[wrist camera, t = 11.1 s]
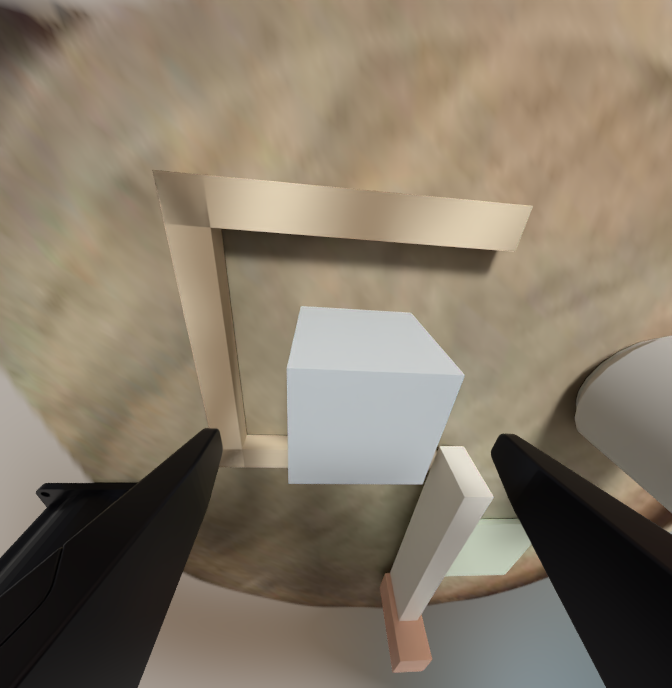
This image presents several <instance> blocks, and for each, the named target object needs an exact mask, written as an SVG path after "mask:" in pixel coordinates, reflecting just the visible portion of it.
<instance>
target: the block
mask: <svg viewBox="0 0 672 688" xmlns="http://www.w3.org/2000/svg"><path fill="white" fill-rule="evenodd" d="M464 376H465V375H464V374H463V373H462V371H461V370H460V369H459V368H458V367H457V366H456V364H455V363H454V362H453V361H452V360H451V359H450V357H449V356H448V355H447V354H446V353H445V352H444V350H443V349H442V348H441V347H440V346H439V345H438V344H437V342H436V341H435V340H434V339H433V338H432V337H431V335H430V334H429V333H428V332H427V331H426V330H425V328H424V327H423V326H422V325H421V324H420V323H419V321H418V320H417V319H416V318H415V317H414V316H413V314H412V313H406V312H390V311H373V310H357V309H340V308H324V307H308V306H301V308H300V312H299V317H298V321H297V326H296V330H295V334H294V339H293V343H292V348H291V352H290V357H289V361H288V365H287V415H288V484H423V482H424V479H425V477H426V474H427V471H428V469H429V466H430V464H431V461H432V459H433V456H434V453H435V451H436V448H437V446H438V443H439V441H440V438H441V435H442V433H443V430H444V428H445V425H446V423H447V420H448V417H449V415H450V412H451V410H452V407H453V405H454V402H455V400H456V397H457V394H458V392H459V389H460V387H461V384H462V382H463V379H464Z"/></svg>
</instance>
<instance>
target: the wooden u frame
mask: <svg viewBox="0 0 672 688" xmlns="http://www.w3.org/2000/svg"><path fill="white" fill-rule="evenodd" d="M152 171H153V176H154V180H155V185H156V189H157V194H158V199H159V203H160V208H161V212H162V217H163V221H164V226H165V230H166V235H167V239H168V244H169V249H170V253H171V258H172V262H173V267H174V271H175V276H176V280H177V285H178V290H179V294H180V299H181V303H182V308H183V312H184V317H185V321H186V326H187V330H188V335H189V340H190V344H191V349H192V353H193V358H194V362H195V367H196V371H197V376H198V380H199V385H200V390H201V394H202V399H203V403H204V408H205V412H206V417H207V421H208V426H209V428H217V429H219V431H220V435H221V440H222V445H223V453H222V457H221V461H220V464H219V467H255V468H288V436H278V435H247V431H246V423H245V415H244V407H243V399H242V391H241V383H240V375H239V367H238V359H237V351H236V343H235V335H234V327H233V319H232V311H231V303H230V295H229V287H228V279H227V271H226V262H225V254H224V246H223V238H222V230H221V228H223V229H236V230H248V231H261V232H273V233H286V234H299V235H311V236H324V237H336V238H349V239H362V240H374V241H387V242H399V243H412V244H424V245H437V246H450V247H462V248H475V249H487V250H500V251H513V252H515V251H516V248H517V246H518V243H519V241H520V238H521V236H522V233H523V230H524V228H525V225H526V223H527V220H528V218H529V215H530V213H531V210H532V207H533V206H528V205H518V204H507V203H497V202H486V201H475V200H465V199H454V198H444V197H433V196H423V195H412V194H402V193H391V192H381V191H370V190H359V189H349V188H338V187H328V186H317V185H307V184H296V183H286V182H275V181H265V180H254V179H243V178H233V177H222V176H212V175H201V174H191V173H180V172H170V171H159V170H152ZM436 454H437V451H435V453H434V456H433V459H432V461H431V464H430V466H429V469H431V467H432V464H433V461H434V459H435V456H436Z"/></svg>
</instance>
